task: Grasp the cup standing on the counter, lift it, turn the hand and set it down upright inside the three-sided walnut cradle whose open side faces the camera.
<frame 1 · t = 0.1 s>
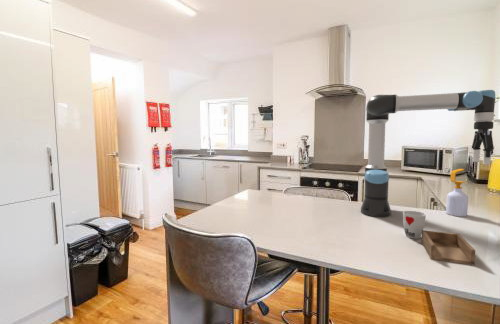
hand: (480, 163, 139), 28 cm above the table, fingers open, 13 cm apart
cup: (412, 237, 113), on the table
soap bottle: (456, 214, 145), on the table
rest: (445, 252, 97), on the table
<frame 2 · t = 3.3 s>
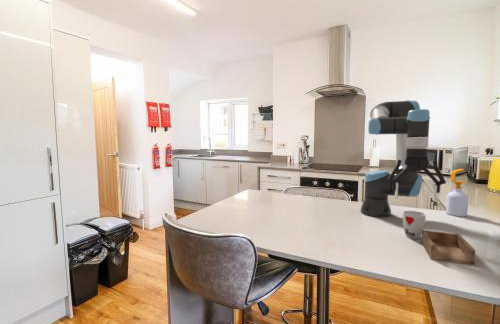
hand: (414, 199, 111), 16 cm above the table, fingers open, 13 cm apart
nothing on the table moved.
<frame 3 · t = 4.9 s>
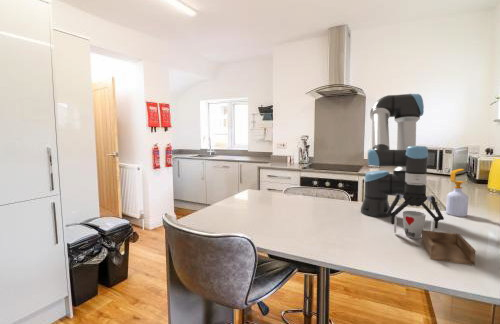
hand: (413, 233, 113), 1 cm above the table, fingers open, 13 cm apart
nothing on the table moved.
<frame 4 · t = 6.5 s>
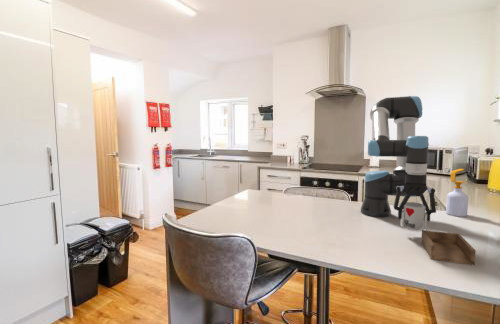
hand: (413, 227, 113), 4 cm above the table, fingers closed on cup, 8 cm apart
cup: (413, 228, 113), point 3 cm above the table, touching gripper
everything else where it was.
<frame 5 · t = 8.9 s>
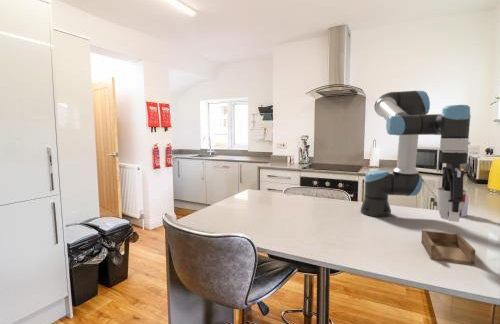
hand: (449, 217, 93), 14 cm above the table, fingers closed on cup, 8 cm apart
cup: (449, 218, 93), point 13 cm above the table, touching gripper
everything else where it was.
when the fingers open (3 cm above the table, at t = 11.5 s): cup drops 1 cm, resting on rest.
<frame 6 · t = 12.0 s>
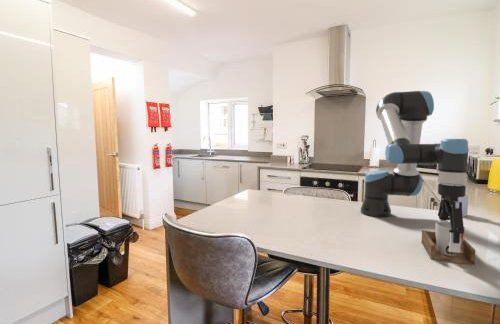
hand: (448, 244, 94), 4 cm above the table, fingers open, 13 cm apart
cup: (447, 253, 94), point 1 cm above the table, touching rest
everything else where it was.
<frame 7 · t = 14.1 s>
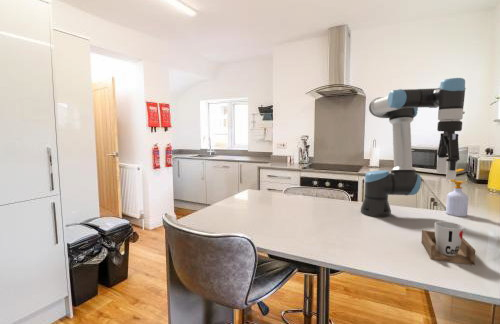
hand: (445, 176, 104), 26 cm above the table, fingers open, 13 cm apart
nothing on the table moved.
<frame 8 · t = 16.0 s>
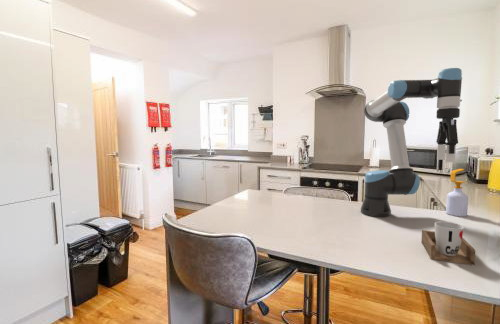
hand: (445, 160, 111), 32 cm above the table, fingers open, 13 cm apart
nothing on the table moved.
at the end: cup inside the target area on the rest (1.9 cm from its centre), point 0.8 cm above the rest's base; cup touching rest; cup tilted 0° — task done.
